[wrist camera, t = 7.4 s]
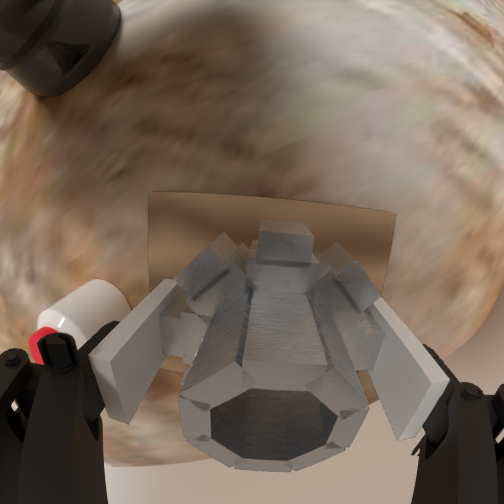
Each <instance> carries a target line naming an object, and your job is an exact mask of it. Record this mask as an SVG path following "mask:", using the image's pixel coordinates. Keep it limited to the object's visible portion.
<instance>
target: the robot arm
mask: <svg viewBox="0 0 504 504" xmlns="http://www.w3.org/2000/svg"><path fill="white" fill-rule="evenodd" d="M119 20H120V11H119V7H118V5H117V4H116V3H115V2H114V1H113V0H0V70H3V71H6V72H7V73H8V74H9V75H11V76H12V77H13V78H14V79H15V80H16V81H17V82H18V83H19V84H20V85H22V86H23V87H24V88H25V89H26V90H27V91H28V92H30V93H32V94H35V95H39V96H43V97H53V96H56V95H59V94H61V93H63V92H65V91H67V90H69V89H70V88H72V87H73V86H74V85H76V84H77V83H78V82H79V81H80V80H82V79H83V78H84V77H85V76H86V75H87V74H88V73H89V72H90V71H91V70H92V68H93V67H94V66H95V65H96V64H97V63H98V61H99V60H100V59H101V57H102V56H103V55H104V53H105V52H106V50H107V49H108V47H109V45H110V44H111V42H112V40H113V38H114V36H115V33H116V31H117V28H118V25H119ZM179 290H180V286H179V285H178V283H177V282H176V281H175V280H172V279H164V280H163V281H162V282H161V283H160V284H159V285H158V286H157V287H156V288H155V289H154V290H153V291H152V292H151V293H150V294H149V295H148V296H146V297H145V298H144V299H143V300H142V301H141V302H140V303H139V304H138V305H137V306H136V307H135V308H134V309H133V310H132V311H131V312H130V313H129V314H128V315H127V316H126V317H125V318H124V319H123V320H122V321H121V322H120V321H115V320H114V321H112V322H110V323H108V324H105V325H104V326H103V327H102V328H100V329H99V330H98V331H97V333H95V334H94V335H93V336H92V337H91V339H89V340H88V341H87V342H86V343H85V344H84V345H83V346H82V347H80V348H79V349H77V346H76V342H75V339H74V338H73V336H71V335H69V334H67V333H62V332H57V333H51V334H48V335H45V336H44V337H42V338H41V339H40V340H39V341H38V342H37V345H38V349H39V351H40V354H41V357H42V360H43V363H44V365H43V364H36V363H31V362H30V359H29V357H28V354H27V353H26V351H24V350H22V349H17V348H13V349H8V350H7V351H4V352H3V353H2V354H1V355H0V504H108V499H107V492H106V482H105V472H104V457H103V423H102V419H101V416H100V413H101V412H102V410H103V409H104V407H105V408H106V411H107V414H108V416H109V418H111V419H114V420H117V421H120V422H123V423H126V424H129V423H130V421H131V419H132V417H133V416H134V414H135V412H136V410H137V408H138V406H139V405H140V403H141V401H142V399H143V397H144V396H145V394H146V392H147V390H148V388H149V387H150V385H151V383H152V381H153V380H154V378H155V376H156V374H157V372H158V371H159V369H160V367H161V365H162V364H163V362H164V360H165V358H166V357H167V354H162V345H161V334H160V323H159V315H160V314H161V312H162V311H163V310H164V309H165V307H166V306H167V305H168V304H169V302H170V301H171V300H172V299H173V298H174V296H175V295H176V294H177V293H178V292H179ZM368 310H369V311H370V312H371V314H372V315H373V317H374V318H375V319H376V321H377V322H378V324H379V325H380V326H381V328H382V329H383V331H384V332H385V337H384V341H383V344H382V347H381V350H380V352H379V355H378V358H377V361H376V364H375V366H374V369H373V370H367V372H368V374H369V376H370V378H371V381H372V383H373V385H374V387H375V390H376V392H377V394H378V396H379V399H380V401H381V403H382V406H383V408H384V410H385V413H386V415H387V418H388V420H389V422H390V424H391V427H392V430H393V432H394V435H395V437H396V440H397V441H401V440H406V439H411V438H415V437H416V435H417V434H418V432H419V431H420V429H421V428H422V427H423V428H424V431H425V433H426V434H425V435H424V437H423V438H422V439H421V441H420V442H419V443H418V445H417V446H416V447H415V449H414V450H413V452H412V454H411V455H414V454H415V453H416V452H417V451H418V449H419V448H420V453H419V454H418V456H419V462H418V470H417V476H416V482H415V487H414V493H413V498H412V502H411V504H504V438H503V439H502V440H501V441H500V443H497V442H496V438H497V437H498V435H499V434H500V433H501V431H502V430H503V429H504V384H501V385H500V387H499V388H498V390H497V391H496V393H495V395H484V394H483V392H482V390H481V389H480V388H479V387H478V386H476V385H474V384H472V383H468V382H461V383H460V382H459V381H458V380H457V378H456V377H455V376H454V374H453V373H452V372H451V371H450V369H449V368H448V367H447V366H446V365H444V362H443V361H442V360H441V359H439V356H438V355H437V354H436V352H435V351H434V350H433V349H431V348H430V347H428V346H427V345H425V344H421V343H420V342H419V340H418V339H417V338H416V337H415V336H414V334H413V333H412V332H411V331H410V330H409V328H408V327H407V326H406V325H405V324H404V323H403V321H402V320H401V319H400V318H399V317H398V316H397V314H396V313H395V312H394V311H393V310H392V309H391V308H390V307H389V305H388V304H387V303H386V302H385V301H384V300H383V299H382V298H381V297H380V298H379V299H378V300H377V301H375V302H374V303H373V304H372V305H370V306H369V307H368ZM14 400H15V402H16V404H17V406H18V408H17V409H16V410H15V411H14V410H13V409H12V407H11V404H12V403H13V401H14Z"/></svg>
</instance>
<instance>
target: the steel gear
mask: <svg viewBox="0 0 504 504" xmlns="http://www.w3.org/2000/svg"><path fill="white" fill-rule="evenodd" d="M313 243H314V235H313V234H312V233H311V232H310V230H309V229H308V228H307V227H306V226H305V225H304V224H303V223H295V222H285V221H274V220H263V219H261V223H260V228H259V233H258V240H254V239H253V241H252V244H251V247H250V250H249V249H248V248H247V247H246V246H245V245H244V243H242V244H240V245H239V246H238V247H237V246H236V244H235V243H234V242H233V241H232V240H231V239H230V238H229V236H228V235H227V234H226V233H225V232H223V233H222V234H220V235H219V236H218V237H217V238H216V239H215V240H214V241H212V242H211V243H210V244H209V245H208V246H207V247H206V248H204V249H203V250H202V251H201V252H200V253H199V254H198V255H197V256H195V257H194V258H193V259H192V260H191V261H190V262H189V263H188V264H187V265H186V266H185V267H184V268H183V269H182V270H181V271H180V272H179V273H178V274H177V275H176V276H175V277H174V278H173V279H174V280H175V281H176V282H177V283H178V285H179V286H180V287H181V289H180V290H179V292H178V293H177V294H176V295H175V296H174V298H173V299H172V300H171V301H170V302H169V304H168V305H167V306H166V307H165V309H164V310H163V311H162V312H161V314H160V315H159V323H160V334H161V345H162V354H167V355H173V356H178V357H183V363H186V364H188V366H187V368H186V370H185V373H184V375H183V377H182V379H181V382H180V385H181V386H182V389H181V391H180V394H179V396H178V402H179V409H180V416H181V423H182V429H183V435H184V438H187V442H189V443H190V444H192V445H193V446H195V447H196V448H198V449H199V450H201V451H203V452H204V453H206V454H207V455H209V456H211V457H212V458H214V459H216V460H217V461H219V462H221V463H223V464H224V465H226V466H228V467H232V466H235V469H242V470H254V471H270V472H291V470H292V469H293V470H295V471H298V470H300V469H303V468H306V467H308V466H311V465H313V464H316V463H318V462H320V461H323V460H325V459H327V458H330V457H332V456H334V455H336V454H338V453H341V452H343V451H345V448H346V447H350V444H351V443H352V441H353V440H354V438H355V436H356V434H357V432H358V430H359V429H360V427H361V425H362V423H363V421H364V419H365V417H366V415H367V413H368V411H369V406H368V405H369V403H368V400H367V397H366V395H365V392H364V390H363V387H362V385H361V382H360V380H359V377H358V375H357V372H356V370H373V369H374V366H375V364H376V361H377V358H378V355H379V352H380V350H381V347H382V344H383V341H384V337H385V332H384V331H383V329H382V328H381V326H380V325H379V324H378V322H377V321H376V319H375V318H374V317H373V315H372V314H371V312H370V311H369V310H368V307H369V306H370V305H372V304H373V303H374V302H375V301H377V300H378V299H379V298H380V297H381V295H380V293H379V292H378V290H377V289H376V287H375V286H374V284H373V283H372V281H371V280H370V278H369V277H368V275H367V274H366V272H365V271H364V270H363V268H362V267H361V265H360V264H359V262H358V261H357V260H356V259H355V258H354V257H353V256H352V255H351V254H350V253H349V252H348V251H346V250H345V249H344V248H343V247H342V246H341V245H340V244H339V243H337V242H335V243H334V244H333V245H332V246H330V247H329V248H328V249H327V250H325V251H324V252H323V253H322V254H320V253H319V251H318V250H317V249H316V250H315V251H314V252H312V251H313Z"/></svg>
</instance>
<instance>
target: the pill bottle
mask: <svg viewBox="0 0 504 504" xmlns="http://www.w3.org/2000/svg"><path fill="white" fill-rule="evenodd" d="M130 312H131V308H130V305H129V303H128V301H127V299H126V298H125V296H124V295H123V294H122V292H121V291H120V290H119V289H118V288H117V287H115V286H114V285H112V284H111V283H109V282H107V281H104V280H101V279H94V280H90V281H88V282H87V283H85V284H83V285H82V286H80V287H79V288H77V289H76V290H74V291H72V292H71V293H69V294H68V295H66V296H65V297H63V298H62V299H60V300H59V301H57V302H56V303H54V304H53V305H51V306H50V307H48V308H47V309H45V310H44V311H42V313H41V314H40V315H39V317H38V320H37V331H36V332H35V333H33V334H32V335H31V336H30V338H29V348H30V352H31V354H32V357H33V359H34V360H35V362H36V364H43V365H44V363H43V360H42V357H41V354H40V351H39V349H38V345H37V342H38V341H39V340H40V339H41V338H42V337H44V336H45V335H48V334H51V333H57V332H62V333H67V334H69V335H71V336H73V338H74V339H75V342H76V346H77V349H79V348H80V347H82V346H83V345H84V344H85V343H86V342H87V341H88V340H89V339H91V337H92V336H93V335H94V334H95V333H97V331H98V330H99V329H100V328H102V327H103V326H104V325H105V324H108V323H110V322H112V321H114V320H115V321H120V322H121V321H122V320H123V319H124V318H125V317H126V316H127V315H128V314H129V313H130Z"/></svg>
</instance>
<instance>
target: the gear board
mask: <svg viewBox="0 0 504 504" xmlns="http://www.w3.org/2000/svg"><path fill="white" fill-rule="evenodd" d="M261 219H263V220H274V221H285V222H295V223H303V224H304V225H305V226H306V227H307V228H308V229H309V230H310V232H311V233H312V234H313V235H314V243H313V251H312V252H314V251H315V250H316V249H317V250H318V251H319V253H320V254H322V253H323V252H324V251H325V250H327V249H328V248H329V247H330V246H332V245H333V244H334V243H335V242H337V243H339V244H340V245H341V246H342V247H343V248H344V249H345V250H346V251H348V252H349V253H350V254H351V255H352V256H353V257H354V258H355V259H356V260H357V261H358V262H359V264H360V265H361V267H362V268H363V270H364V271H365V272H366V274H367V275H368V277H369V278H370V280H371V281H372V283H373V284H374V286H375V287H376V289H377V290H378V292H379V293H380V295H381V293H382V289H383V285H384V281H385V276H386V271H387V266H388V261H389V256H390V251H391V245H392V239H393V233H394V227H395V220H396V214H395V213H392V212H387V211H380V210H374V209H367V208H360V207H353V206H345V205H337V204H329V203H321V202H312V201H302V200H293V199H282V198H271V197H260V196H247V195H232V194H216V193H196V192H170V191H152V192H149V198H148V256H149V280H150V293H151V292H152V291H153V290H154V289H155V288H156V287H157V286H158V285H159V284H160V283H161V282H162V281H163V280H164V279H172V280H174V279H173V278H174V277H175V276H176V275H177V274H178V273H179V272H180V271H181V270H182V269H183V268H184V267H185V266H186V265H187V264H188V263H189V262H190V261H191V260H192V259H193V258H194V257H195V256H197V255H198V254H199V253H200V252H201V251H202V250H203V249H204V248H206V247H207V246H208V245H209V244H210V243H211V242H212V241H214V240H215V239H216V238H217V237H218V236H219V235H220V234H222V233H223V232H225V233H226V234H227V235H228V236H229V238H230V239H231V240H232V241H233V242H234V243H235V244H236V246H237V247H238V246H239V245H240V244H242V243H244V245H245V246H246V247H247V248H248V249H249V250H250V247H251V244H252V241H253V239H254V240H258V233H259V228H260V223H261ZM180 289H181V287H180ZM187 366H188V364H186V363H183V357H178V356H173V355H167V357H166V358H165V360H164V362H163V364H162V365H161V367H160V369H164V370H169V371H175V372H180V373H185V370H186V368H187ZM358 371H359V370H356V372H357V374H358Z"/></svg>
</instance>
